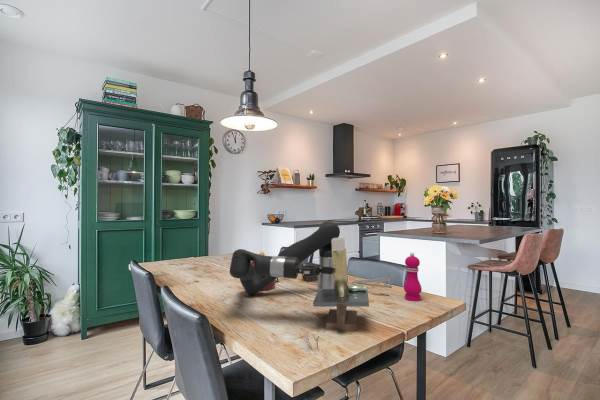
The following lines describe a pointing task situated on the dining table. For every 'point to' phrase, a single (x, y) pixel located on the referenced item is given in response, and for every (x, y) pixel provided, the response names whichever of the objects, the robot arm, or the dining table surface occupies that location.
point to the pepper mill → (412, 279)
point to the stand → (342, 319)
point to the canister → (264, 277)
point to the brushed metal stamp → (341, 283)
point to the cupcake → (310, 278)
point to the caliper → (378, 280)
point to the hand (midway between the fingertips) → (332, 270)
